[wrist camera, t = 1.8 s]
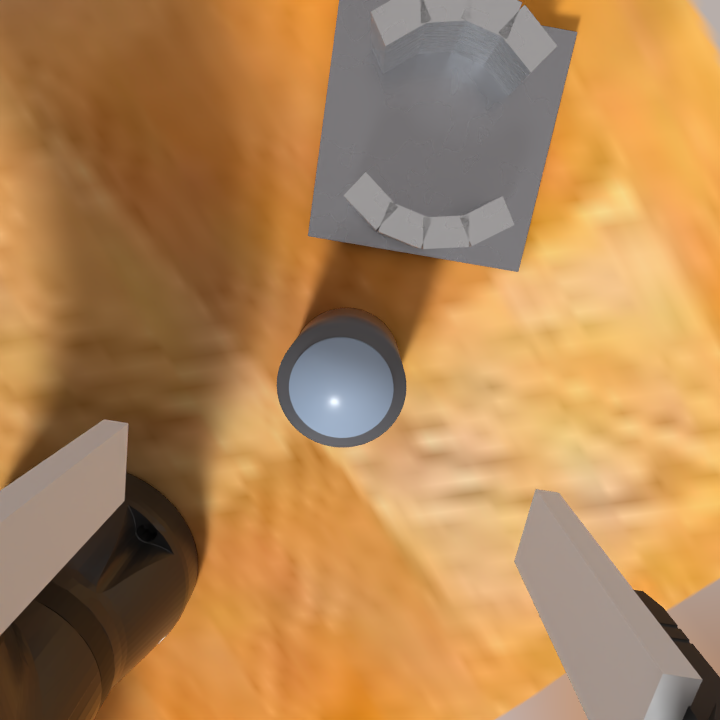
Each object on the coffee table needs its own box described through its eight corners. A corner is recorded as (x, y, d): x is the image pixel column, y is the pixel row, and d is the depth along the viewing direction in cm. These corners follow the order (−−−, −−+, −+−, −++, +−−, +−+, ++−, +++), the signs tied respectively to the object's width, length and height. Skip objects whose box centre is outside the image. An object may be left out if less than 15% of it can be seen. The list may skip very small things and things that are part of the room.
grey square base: (514, 271, 29) (540, 276, 25) (309, 236, 29) (299, 235, 25) (571, 38, 26) (612, -4, 22) (341, -4, 26) (336, -55, 21)
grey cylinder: (287, 400, 32) (268, 438, 26) (301, 299, 30) (284, 314, 24) (388, 417, 32) (393, 458, 26) (408, 317, 30) (418, 336, 24)
